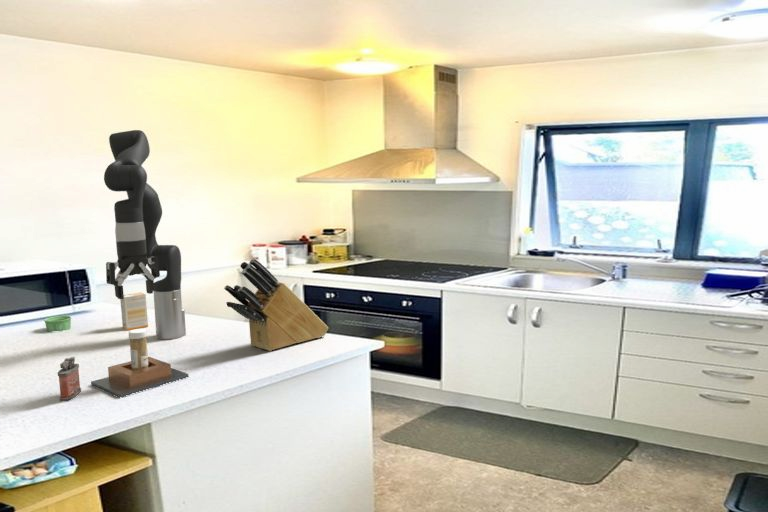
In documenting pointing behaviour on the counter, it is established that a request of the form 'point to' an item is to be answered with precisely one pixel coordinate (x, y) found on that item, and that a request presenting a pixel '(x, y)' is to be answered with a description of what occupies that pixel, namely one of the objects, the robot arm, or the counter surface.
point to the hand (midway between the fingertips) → (135, 296)
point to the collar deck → (129, 391)
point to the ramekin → (58, 323)
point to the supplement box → (134, 311)
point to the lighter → (69, 379)
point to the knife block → (273, 310)
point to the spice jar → (138, 349)
